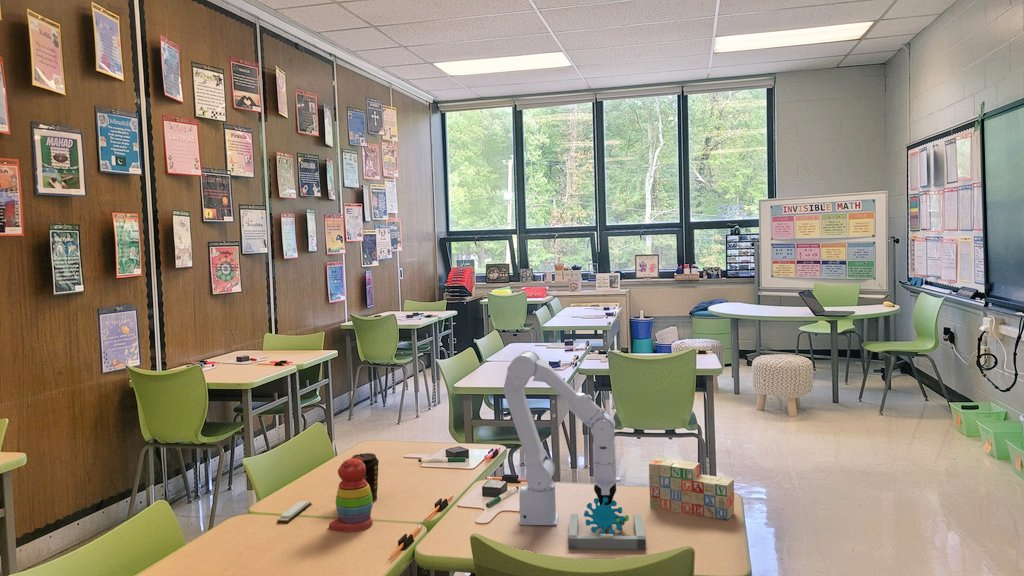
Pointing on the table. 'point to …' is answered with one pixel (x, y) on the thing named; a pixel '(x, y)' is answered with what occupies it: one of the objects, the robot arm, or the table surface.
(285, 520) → the harmonica
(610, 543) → the gear frame
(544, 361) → the robot arm
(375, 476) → the coffee cup
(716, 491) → the stack of blocks
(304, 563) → the table surface
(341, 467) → the stacking bear
